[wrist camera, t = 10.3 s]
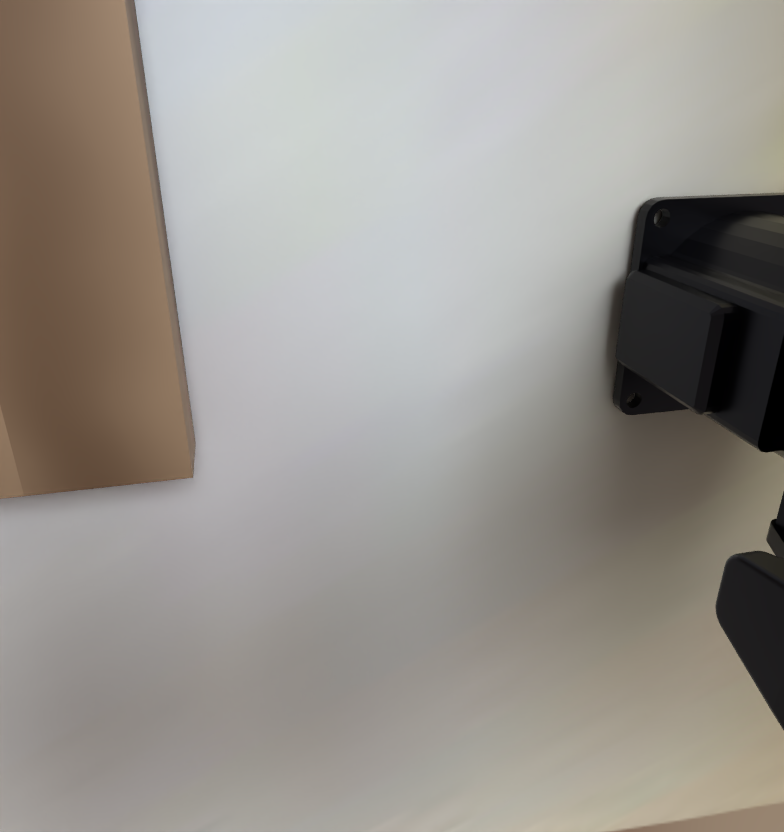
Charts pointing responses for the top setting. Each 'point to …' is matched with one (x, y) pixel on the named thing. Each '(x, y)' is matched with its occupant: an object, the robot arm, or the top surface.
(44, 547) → the top surface
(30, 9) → the brown square frame
